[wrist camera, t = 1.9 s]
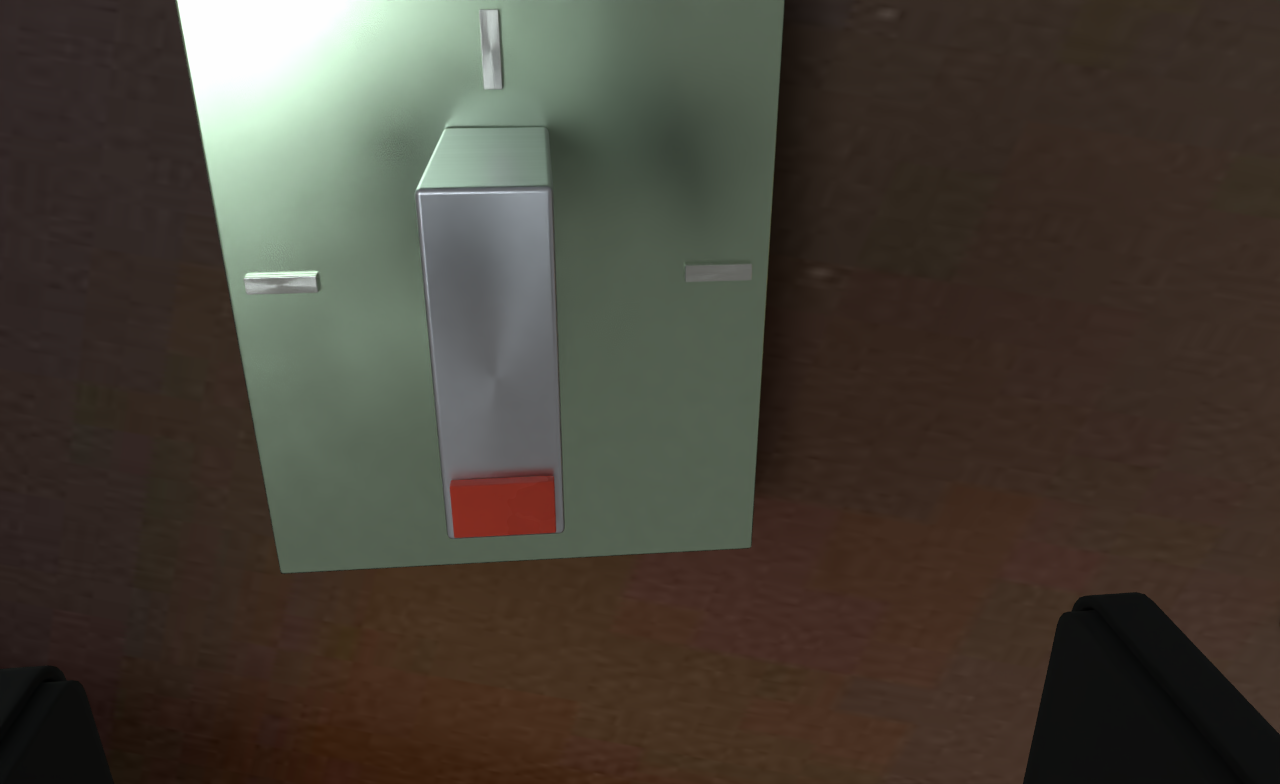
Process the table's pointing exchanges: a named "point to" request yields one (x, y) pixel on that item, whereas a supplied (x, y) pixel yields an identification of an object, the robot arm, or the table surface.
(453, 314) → the grey rectangular block
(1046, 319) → the table surface
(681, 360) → the lever panel
